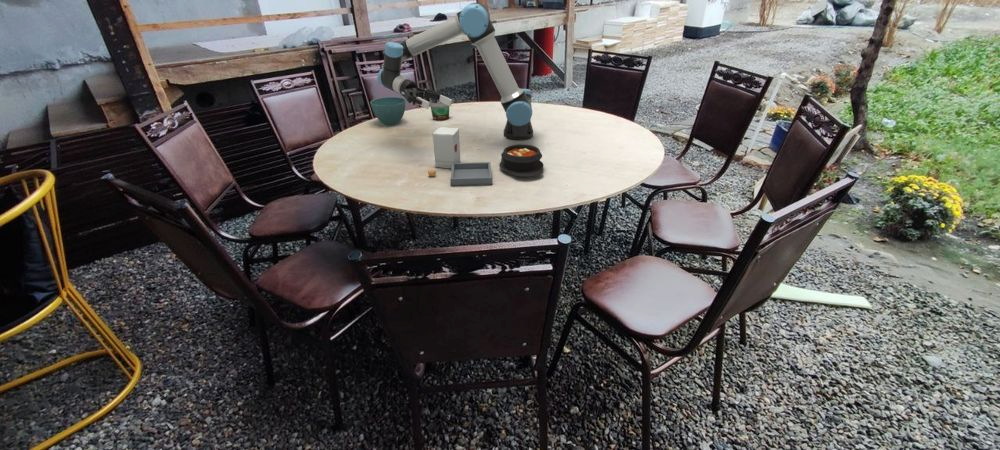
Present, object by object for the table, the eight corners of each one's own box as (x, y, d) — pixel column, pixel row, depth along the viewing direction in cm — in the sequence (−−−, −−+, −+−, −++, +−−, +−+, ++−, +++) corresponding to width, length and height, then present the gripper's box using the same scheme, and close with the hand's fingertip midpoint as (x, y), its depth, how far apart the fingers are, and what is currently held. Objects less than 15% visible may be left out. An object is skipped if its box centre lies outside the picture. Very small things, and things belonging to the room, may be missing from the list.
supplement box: (455, 169, 177) (453, 134, 169) (434, 167, 178) (431, 133, 171) (461, 161, 184) (459, 127, 177) (441, 159, 186) (439, 126, 178)
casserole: (553, 178, 169) (554, 158, 165) (509, 183, 165) (509, 164, 160) (531, 156, 190) (532, 138, 185) (492, 160, 185) (491, 142, 181)
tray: (490, 168, 177) (490, 162, 176) (492, 185, 164) (492, 177, 162) (452, 169, 176) (452, 163, 175) (450, 186, 163) (450, 179, 161)
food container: (434, 122, 232) (432, 104, 227) (430, 119, 237) (428, 101, 232) (454, 119, 237) (453, 101, 232) (450, 116, 242) (449, 99, 236)
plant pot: (367, 126, 226) (363, 103, 220) (386, 117, 241) (383, 95, 235) (396, 130, 221) (393, 106, 215) (413, 120, 236) (411, 98, 229)
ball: (436, 174, 172) (435, 167, 171) (435, 177, 170) (435, 170, 168) (428, 174, 172) (427, 167, 170) (427, 177, 169) (427, 170, 168)
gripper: (425, 94, 196) (458, 110, 187) (382, 97, 177) (416, 116, 168) (427, 77, 192) (461, 93, 183) (383, 80, 173) (419, 97, 164)
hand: (440, 104), depth 175 cm, fingers open, 13 cm apart
